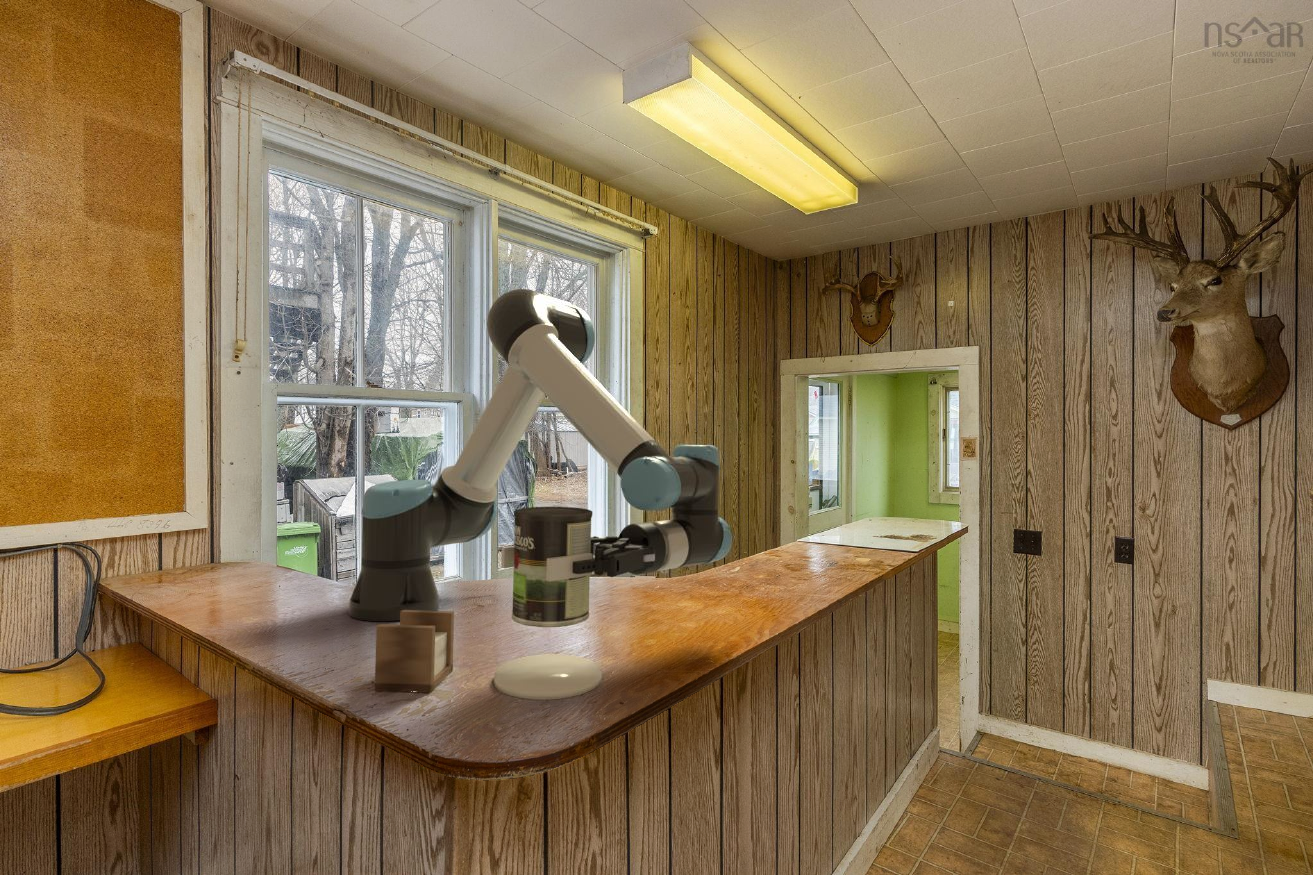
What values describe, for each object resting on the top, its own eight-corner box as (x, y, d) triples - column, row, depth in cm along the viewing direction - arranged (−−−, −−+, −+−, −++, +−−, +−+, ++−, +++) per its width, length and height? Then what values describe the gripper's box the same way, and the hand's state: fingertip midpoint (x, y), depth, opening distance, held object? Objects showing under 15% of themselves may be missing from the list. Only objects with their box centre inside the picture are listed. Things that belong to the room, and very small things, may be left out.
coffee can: (525, 631, 79) (528, 516, 79) (501, 611, 88) (504, 507, 88) (603, 621, 84) (605, 512, 84) (573, 603, 93) (574, 505, 93)
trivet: (480, 697, 79) (480, 689, 79) (509, 659, 93) (509, 652, 93) (594, 701, 79) (595, 693, 79) (606, 662, 93) (606, 655, 93)
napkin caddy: (374, 690, 80) (376, 626, 80) (401, 668, 88) (403, 609, 88) (430, 692, 80) (432, 628, 80) (452, 670, 88) (454, 611, 88)
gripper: (706, 584, 90) (576, 610, 75) (603, 561, 106) (480, 578, 91) (707, 530, 90) (578, 545, 75) (604, 515, 106) (481, 525, 91)
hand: (524, 563), depth 83 cm, fingers closed on coffee can, 10 cm apart
